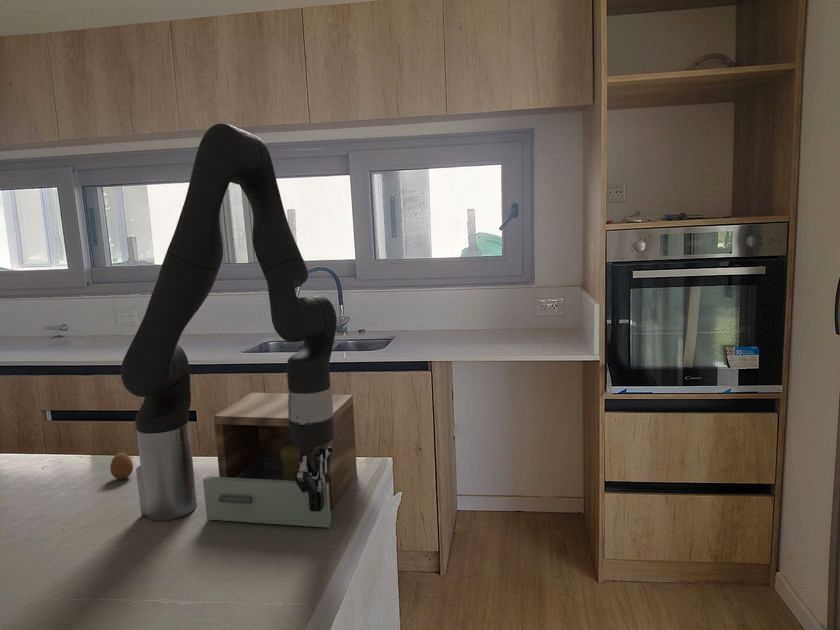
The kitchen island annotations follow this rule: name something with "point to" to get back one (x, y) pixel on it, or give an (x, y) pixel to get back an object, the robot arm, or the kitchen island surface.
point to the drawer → (263, 497)
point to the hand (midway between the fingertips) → (316, 509)
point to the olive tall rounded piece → (290, 461)
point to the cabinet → (281, 437)
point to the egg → (121, 466)
